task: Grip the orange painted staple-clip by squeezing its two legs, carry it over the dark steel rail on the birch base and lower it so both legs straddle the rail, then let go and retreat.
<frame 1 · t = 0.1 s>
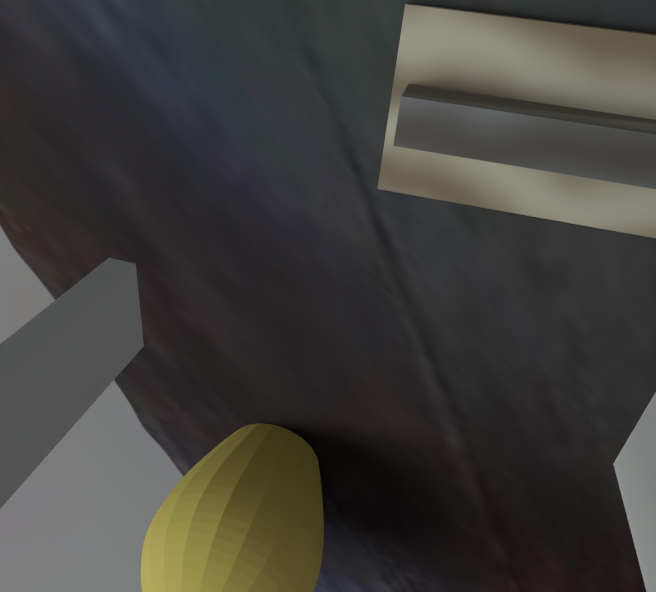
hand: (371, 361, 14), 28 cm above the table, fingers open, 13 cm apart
rail block: (557, 126, 36), on the table
vase: (274, 456, 60), on the table
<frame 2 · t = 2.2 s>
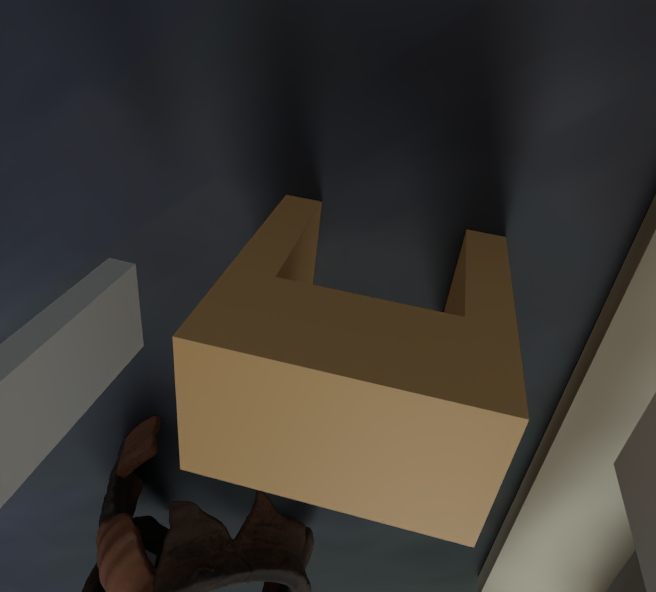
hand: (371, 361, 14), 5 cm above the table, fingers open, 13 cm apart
clip: (382, 270, 18), on the table
pottery mug: (209, 488, 27), on the table
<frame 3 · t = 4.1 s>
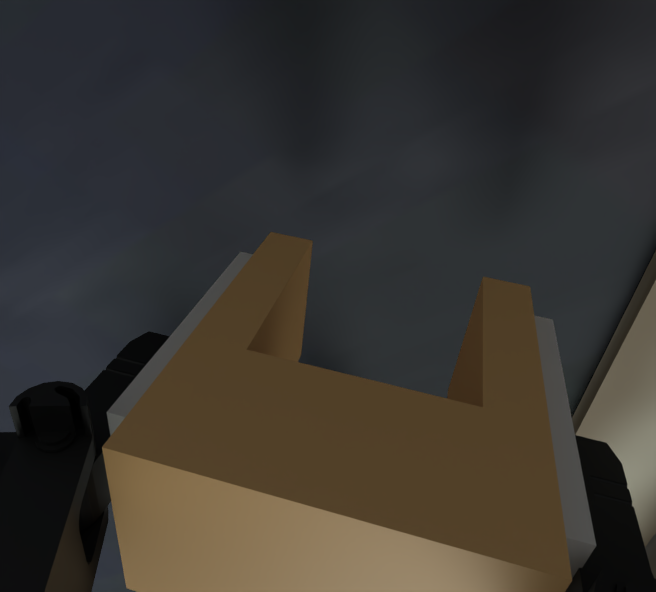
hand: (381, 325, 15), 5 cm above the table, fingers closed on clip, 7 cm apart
clip: (383, 319, 16), point 5 cm above the table, touching gripper
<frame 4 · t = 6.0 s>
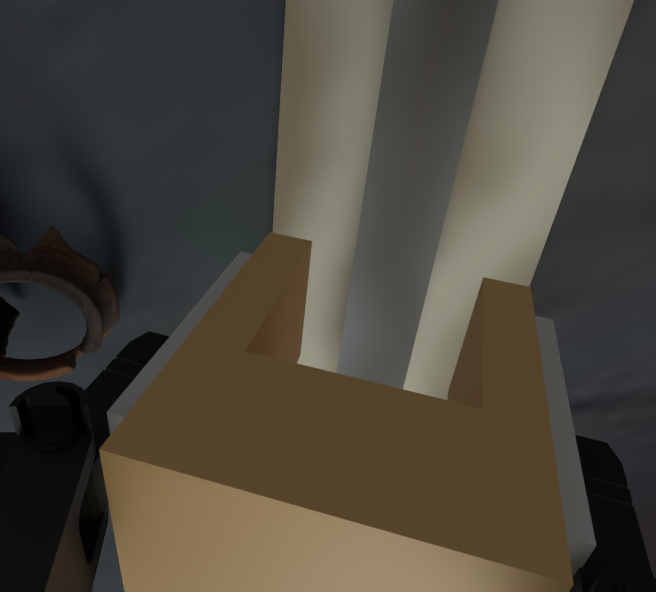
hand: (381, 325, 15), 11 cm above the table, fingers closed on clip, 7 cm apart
rail block: (411, 190, 24), on the table
clip: (383, 319, 15), point 11 cm above the table, touching gripper
pottery mug: (47, 271, 32), on the table
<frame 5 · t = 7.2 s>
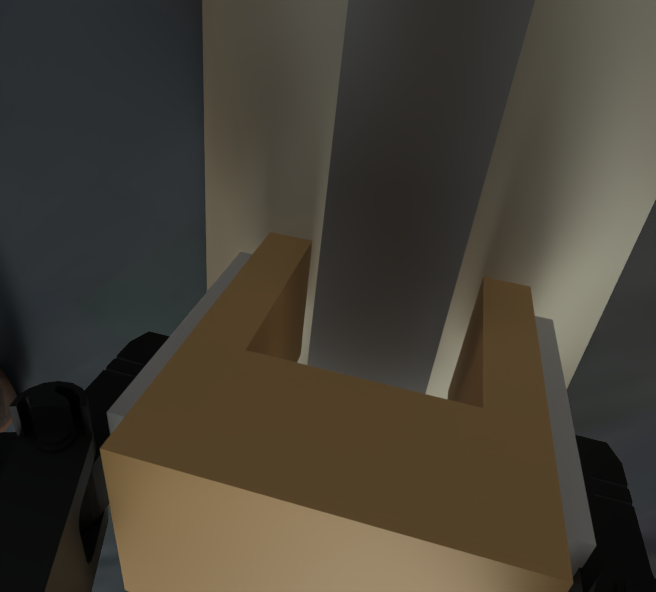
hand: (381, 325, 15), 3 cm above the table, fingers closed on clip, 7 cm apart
rail block: (393, 277, 18), on the table
clip: (383, 319, 15), point 2 cm above the table, touching gripper
when the fingers open (3 cm above the table, at t = 7.9 s): clip drops 1 cm, resting on rail block.
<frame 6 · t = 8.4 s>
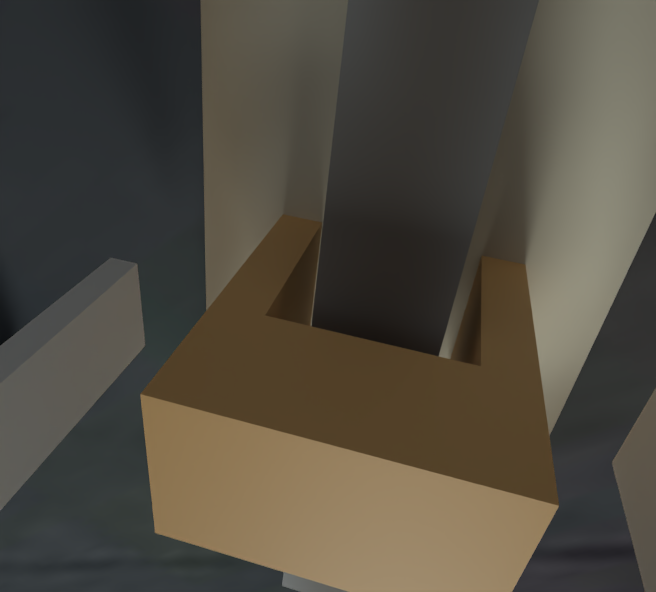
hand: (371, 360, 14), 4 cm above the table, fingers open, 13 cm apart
rail block: (394, 280, 17), on the table
clip: (388, 297, 17), point 1 cm above the table, touching rail block
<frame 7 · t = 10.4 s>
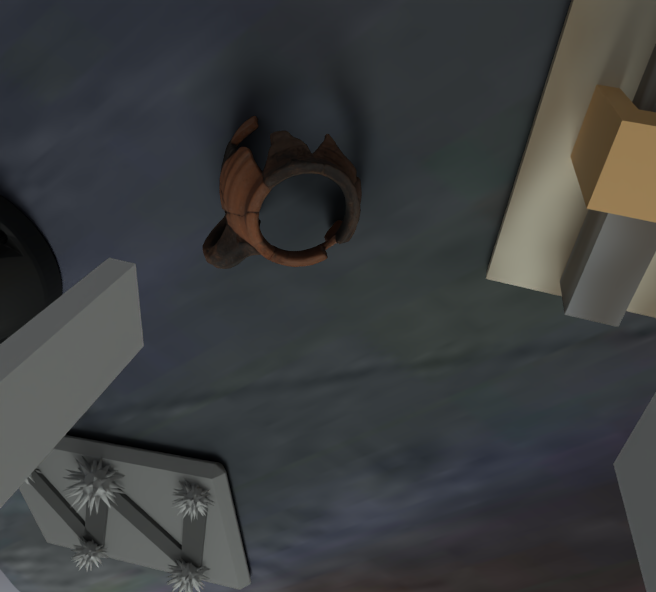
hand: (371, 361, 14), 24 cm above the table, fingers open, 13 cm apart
rail block: (646, 128, 30), on the table
clip: (649, 133, 30), point 1 cm above the table, touching rail block
decorative plate: (131, 496, 66), on the table
pottery mug: (287, 185, 39), on the table
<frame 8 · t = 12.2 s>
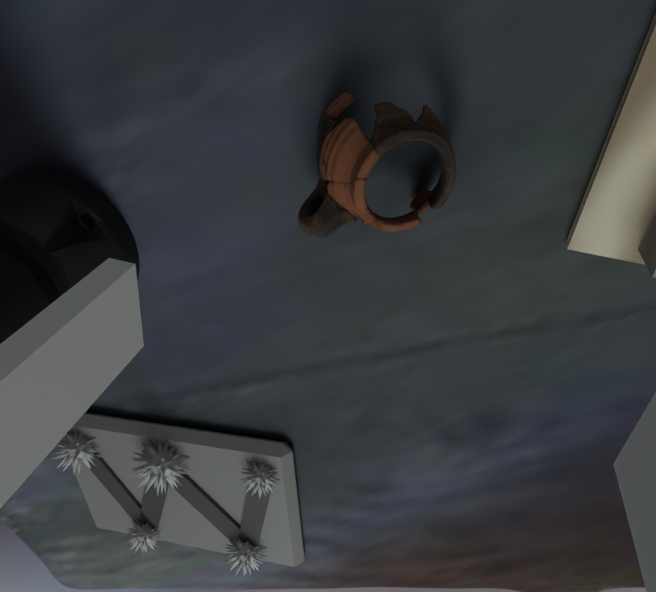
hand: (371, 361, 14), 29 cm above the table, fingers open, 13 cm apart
decorative plate: (187, 479, 68), on the table
pottery mug: (373, 158, 41), on the table
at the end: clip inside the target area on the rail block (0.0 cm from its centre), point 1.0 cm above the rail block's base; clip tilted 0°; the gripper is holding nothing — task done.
